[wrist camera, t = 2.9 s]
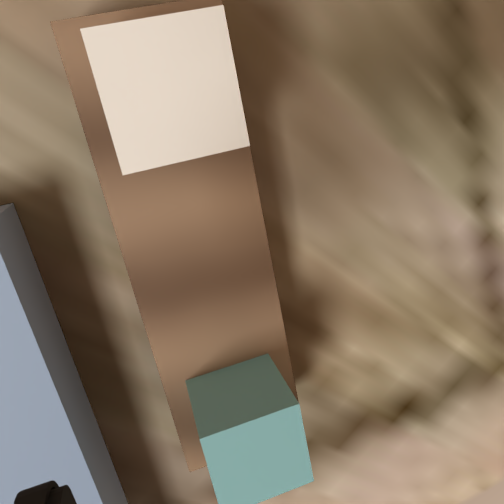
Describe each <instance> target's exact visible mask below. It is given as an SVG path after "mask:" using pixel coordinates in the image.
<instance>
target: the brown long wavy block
mask: <svg viewBox="0 0 504 504" xmlns="http://www.w3.org/2000/svg"><path fill="white" fill-rule="evenodd" d="M219 5H223V3H222V0H181V1H175V2H169V3H162V4H156V5H150V6H144V7H137V8H131V9H125V10H119V11H113V12H106V13H100V14H94V15H88V16H82V17H75V18H69V19H63V20H57V21H51V22H50V23H51V26H52V30H53V33H54V36H55V39H56V43H57V46H58V49H59V52H60V55H61V59H62V62H63V65H64V68H65V72H66V75H67V78H68V81H69V84H70V88H71V91H72V94H73V97H74V101H75V104H76V107H77V110H78V113H79V117H80V120H81V123H82V126H83V130H84V133H85V136H86V139H87V143H88V146H89V149H90V152H91V155H92V159H93V162H94V165H95V168H96V172H97V175H98V178H99V181H100V184H101V188H102V191H103V194H104V197H105V201H106V204H107V207H108V210H109V213H110V217H111V220H112V223H113V226H114V230H115V233H116V236H117V239H118V242H119V246H120V249H121V252H122V255H123V259H124V262H125V265H126V268H127V271H128V275H129V278H130V281H131V284H132V288H133V291H134V294H135V297H136V300H137V304H138V307H139V310H140V313H141V317H142V320H143V323H144V326H145V329H146V333H147V336H148V339H149V342H150V346H151V349H152V352H153V355H154V358H155V362H156V365H157V368H158V371H159V375H160V378H161V381H162V384H163V387H164V391H165V394H166V397H167V400H168V404H169V407H170V410H171V413H172V416H173V420H174V423H175V426H176V429H177V433H178V436H179V439H180V442H181V445H182V449H183V452H184V455H185V458H186V462H187V465H188V468H189V471H190V472H192V471H194V470H197V469H200V468H203V467H205V466H207V463H206V460H205V456H204V453H203V449H202V446H201V442H200V439H199V435H198V431H197V427H196V423H195V419H194V414H193V410H192V406H191V402H190V398H189V394H188V390H187V386H186V382H185V380H189V379H192V378H195V377H198V376H201V375H204V374H207V373H210V372H213V371H216V370H219V369H222V368H225V367H228V366H231V365H234V364H237V363H240V362H243V361H246V360H249V359H252V358H255V357H259V356H262V355H265V354H269V356H270V357H271V359H272V360H273V362H274V364H275V365H276V367H277V369H278V370H279V372H280V373H281V375H282V377H283V378H284V380H285V381H286V383H287V385H288V386H289V388H290V390H291V391H292V393H293V394H294V396H295V398H296V399H297V401H298V397H297V392H296V386H295V381H294V376H293V371H292V365H291V360H290V355H289V350H288V344H287V339H286V334H285V329H284V323H283V318H282V313H281V308H280V302H279V297H278V292H277V286H276V281H275V276H274V271H273V265H272V260H271V255H270V250H269V244H268V239H267V234H266V229H265V223H264V218H263V213H262V208H261V202H260V197H259V192H258V187H257V181H256V176H255V171H254V166H253V160H252V155H251V150H250V146H247V147H243V148H239V149H234V150H230V151H226V152H222V153H217V154H213V155H209V156H204V157H200V158H196V159H191V160H187V161H183V162H178V163H174V164H170V165H166V166H161V167H157V168H153V169H148V170H144V171H140V172H135V173H131V174H127V175H122V171H121V168H120V164H119V161H118V158H117V154H116V151H115V147H114V144H113V140H112V137H111V134H110V130H109V127H108V123H107V120H106V116H105V113H104V110H103V106H102V103H101V99H100V96H99V92H98V89H97V86H96V82H95V79H94V75H93V72H92V68H91V65H90V62H89V58H88V55H87V51H86V48H85V44H84V41H83V38H82V34H81V31H80V29H81V28H87V27H93V26H99V25H105V24H111V23H117V22H123V21H129V20H135V19H141V18H147V17H153V16H159V15H165V14H171V13H177V12H183V11H189V10H195V9H201V8H207V7H213V6H219ZM298 403H299V402H298Z"/></svg>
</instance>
